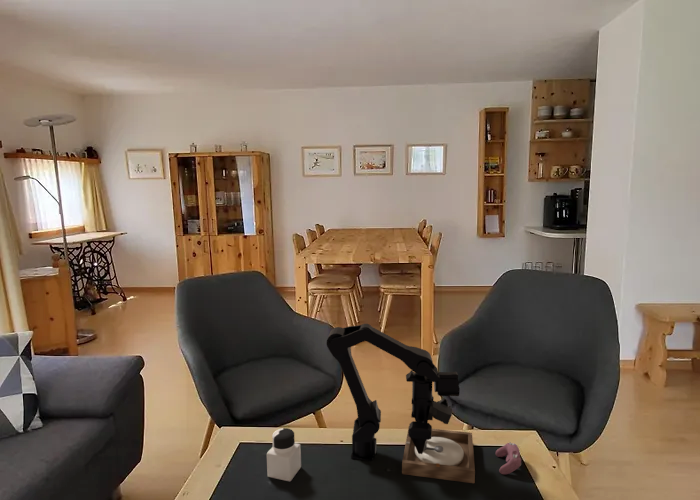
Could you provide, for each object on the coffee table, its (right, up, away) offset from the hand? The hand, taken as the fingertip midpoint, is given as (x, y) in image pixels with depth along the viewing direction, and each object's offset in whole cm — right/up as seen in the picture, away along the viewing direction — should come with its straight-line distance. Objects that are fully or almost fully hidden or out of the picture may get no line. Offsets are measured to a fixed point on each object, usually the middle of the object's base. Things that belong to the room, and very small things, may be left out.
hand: (421, 444), depth 133 cm
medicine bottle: (-39, -5, -6) cm, 40 cm away
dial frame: (+5, -4, -1) cm, 6 cm away
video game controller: (+24, -4, -4) cm, 25 cm away
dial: (+5, -2, -1) cm, 5 cm away
